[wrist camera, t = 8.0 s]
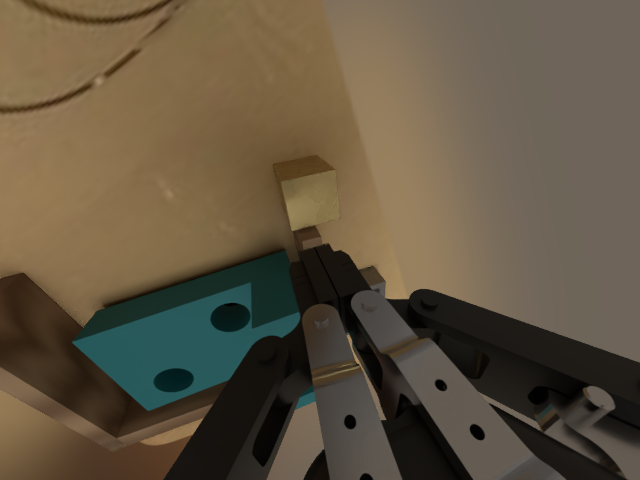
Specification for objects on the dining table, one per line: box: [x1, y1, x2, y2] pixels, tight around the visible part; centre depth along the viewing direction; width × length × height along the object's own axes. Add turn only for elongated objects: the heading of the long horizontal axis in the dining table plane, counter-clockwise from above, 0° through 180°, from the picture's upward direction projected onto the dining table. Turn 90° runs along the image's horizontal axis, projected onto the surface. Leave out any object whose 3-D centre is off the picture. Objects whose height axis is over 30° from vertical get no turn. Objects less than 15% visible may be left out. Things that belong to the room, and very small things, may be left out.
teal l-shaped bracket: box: [72, 250, 316, 411], centre depth 22 cm, size 18×11×10 cm, turn 101°
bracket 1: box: [0, 225, 322, 451], centre depth 24 cm, size 19×25×6 cm
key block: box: [273, 155, 340, 231], centre depth 20 cm, size 4×4×5 cm
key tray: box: [346, 266, 386, 335], centre depth 30 cm, size 8×8×3 cm
